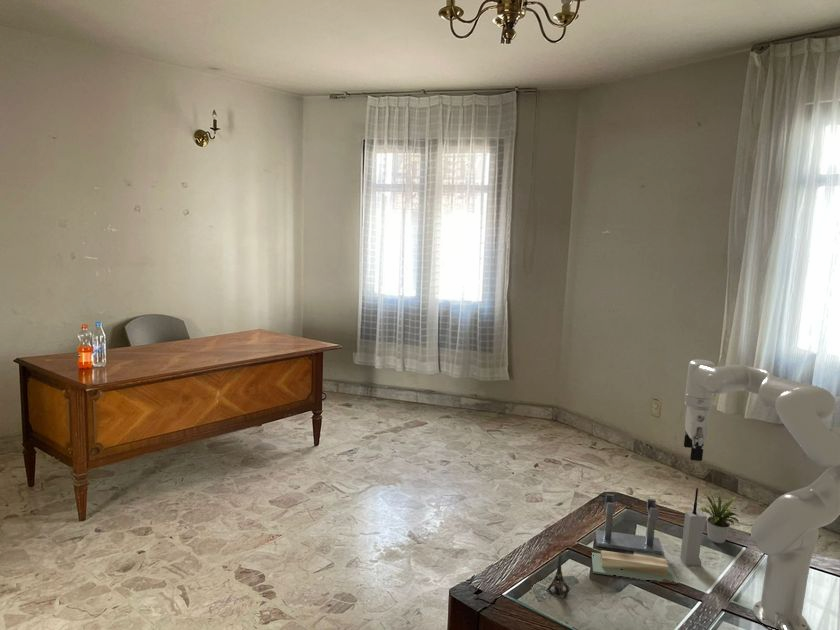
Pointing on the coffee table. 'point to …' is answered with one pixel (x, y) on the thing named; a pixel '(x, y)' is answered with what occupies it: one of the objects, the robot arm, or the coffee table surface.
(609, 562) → the maple rail
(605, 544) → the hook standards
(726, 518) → the house plant
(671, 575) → the rubber mat
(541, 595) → the eiffel tower figurine
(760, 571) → the coffee table surface
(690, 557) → the vintage mobile phone
